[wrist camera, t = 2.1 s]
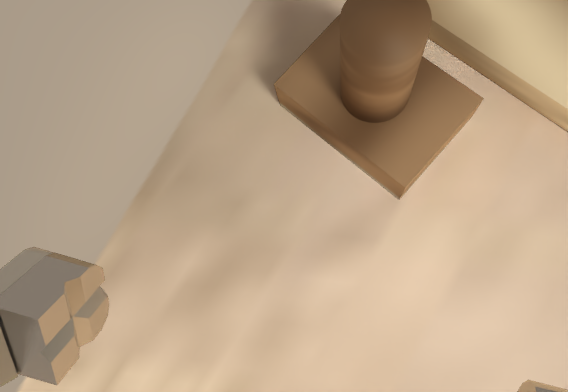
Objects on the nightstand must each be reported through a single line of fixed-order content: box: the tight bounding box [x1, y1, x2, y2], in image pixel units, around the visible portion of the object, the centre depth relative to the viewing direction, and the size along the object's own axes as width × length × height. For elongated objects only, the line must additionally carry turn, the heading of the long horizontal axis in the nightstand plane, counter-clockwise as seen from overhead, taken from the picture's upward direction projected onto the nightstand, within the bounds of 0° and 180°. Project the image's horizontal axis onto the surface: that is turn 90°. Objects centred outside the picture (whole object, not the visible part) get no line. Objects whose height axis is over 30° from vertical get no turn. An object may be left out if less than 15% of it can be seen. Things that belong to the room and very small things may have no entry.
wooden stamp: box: [274, 0, 484, 200], centre depth 20 cm, size 8×6×8 cm
